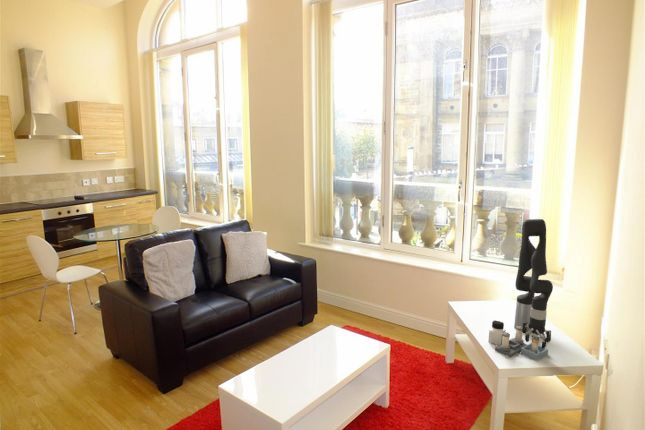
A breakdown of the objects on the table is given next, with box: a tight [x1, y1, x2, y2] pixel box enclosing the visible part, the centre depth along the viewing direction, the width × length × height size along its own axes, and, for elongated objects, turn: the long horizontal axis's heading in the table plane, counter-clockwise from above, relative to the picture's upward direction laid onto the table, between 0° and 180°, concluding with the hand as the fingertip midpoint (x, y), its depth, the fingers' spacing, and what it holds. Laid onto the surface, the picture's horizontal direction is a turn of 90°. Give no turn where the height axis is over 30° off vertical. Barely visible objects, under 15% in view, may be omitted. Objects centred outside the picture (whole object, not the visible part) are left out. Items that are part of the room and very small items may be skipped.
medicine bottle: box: [488, 319, 506, 346], centre depth 234 cm, size 7×7×12 cm
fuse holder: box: [494, 326, 528, 358], centre depth 225 cm, size 18×9×11 cm, turn 125°
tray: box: [519, 342, 549, 362], centre depth 221 cm, size 11×9×3 cm
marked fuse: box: [530, 335, 540, 354], centre depth 220 cm, size 4×4×9 cm
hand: (535, 344), depth 220 cm, fingers open, 8 cm apart
